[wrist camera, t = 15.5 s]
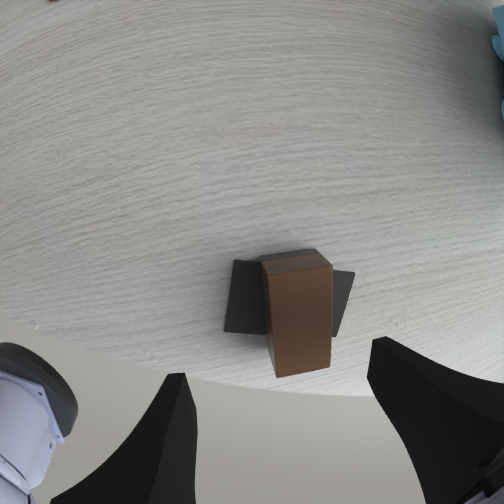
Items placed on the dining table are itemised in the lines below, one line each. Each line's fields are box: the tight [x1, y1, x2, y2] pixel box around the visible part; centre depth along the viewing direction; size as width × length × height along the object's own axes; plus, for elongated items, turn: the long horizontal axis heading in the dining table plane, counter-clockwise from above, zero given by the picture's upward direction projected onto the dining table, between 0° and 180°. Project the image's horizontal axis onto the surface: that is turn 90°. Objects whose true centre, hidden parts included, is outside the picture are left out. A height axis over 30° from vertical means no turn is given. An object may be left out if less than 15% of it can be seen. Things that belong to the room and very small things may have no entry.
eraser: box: [259, 249, 333, 378], centre depth 18 cm, size 7×4×3 cm, turn 6°
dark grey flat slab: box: [224, 260, 355, 337], centre depth 19 cm, size 5×8×1 cm, turn 81°
